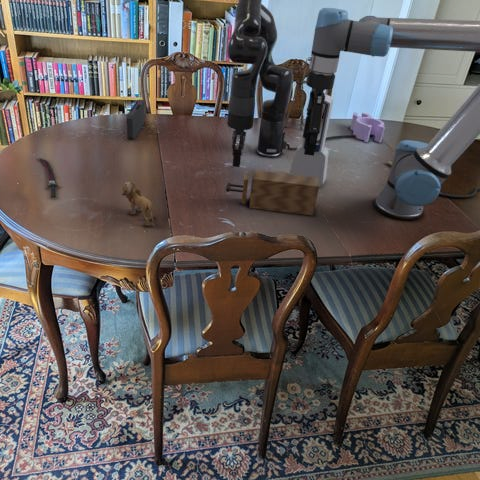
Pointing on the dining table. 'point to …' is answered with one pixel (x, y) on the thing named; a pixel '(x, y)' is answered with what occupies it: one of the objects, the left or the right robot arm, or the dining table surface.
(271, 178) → the cabinet
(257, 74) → the left robot arm
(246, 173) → the drawer
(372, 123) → the clip
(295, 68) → the miniature windmill
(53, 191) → the sword
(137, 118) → the handheld gaming console
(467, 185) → the dining table surface
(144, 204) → the lion figurine
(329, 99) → the electronic device
